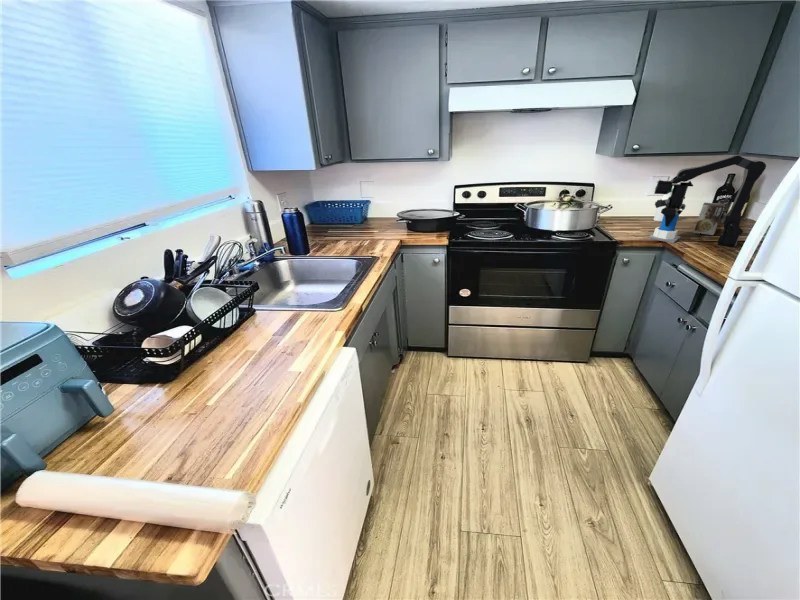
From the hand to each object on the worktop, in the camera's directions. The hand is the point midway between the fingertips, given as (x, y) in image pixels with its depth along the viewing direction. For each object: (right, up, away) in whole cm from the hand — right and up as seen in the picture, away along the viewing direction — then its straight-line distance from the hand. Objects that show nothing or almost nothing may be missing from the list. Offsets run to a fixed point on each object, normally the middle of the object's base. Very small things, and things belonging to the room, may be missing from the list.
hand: (668, 224), depth 181 cm
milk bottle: (+24, +11, +37) cm, 46 cm away
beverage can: (0, -5, +3) cm, 6 cm away
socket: (0, -7, +3) cm, 7 cm away
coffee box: (+28, -2, +11) cm, 30 cm away
